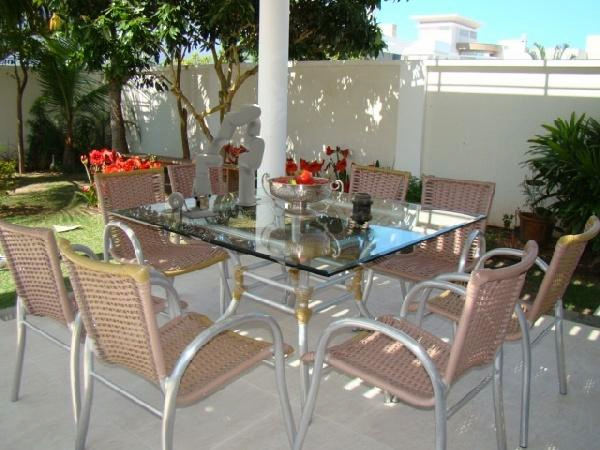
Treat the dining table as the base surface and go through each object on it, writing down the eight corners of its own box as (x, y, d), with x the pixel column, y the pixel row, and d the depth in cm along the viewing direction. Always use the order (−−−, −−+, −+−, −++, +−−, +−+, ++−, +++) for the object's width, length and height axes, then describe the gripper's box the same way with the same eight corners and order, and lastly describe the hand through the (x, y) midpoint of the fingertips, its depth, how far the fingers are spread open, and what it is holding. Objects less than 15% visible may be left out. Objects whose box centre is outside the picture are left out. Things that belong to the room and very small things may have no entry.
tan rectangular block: (201, 205, 330) (201, 195, 329) (209, 208, 324) (209, 198, 322) (195, 206, 328) (195, 196, 326) (202, 209, 321) (202, 199, 320)
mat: (206, 210, 318) (206, 209, 318) (219, 215, 307) (219, 214, 307) (181, 213, 308) (181, 212, 308) (192, 219, 297) (192, 217, 297)
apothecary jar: (374, 225, 299) (376, 192, 295) (369, 230, 288) (371, 196, 284) (352, 223, 303) (354, 190, 299) (346, 227, 292) (348, 194, 288)
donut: (185, 209, 319) (185, 192, 316) (182, 210, 316) (181, 193, 313) (170, 207, 322) (170, 190, 320) (167, 208, 319) (167, 191, 317)
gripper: (211, 173, 329) (211, 204, 333) (185, 175, 319) (186, 206, 323) (218, 175, 323) (218, 206, 328) (192, 177, 313) (192, 209, 318)
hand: (202, 206), depth 325 cm, fingers closed on tan rectangular block, 4 cm apart
